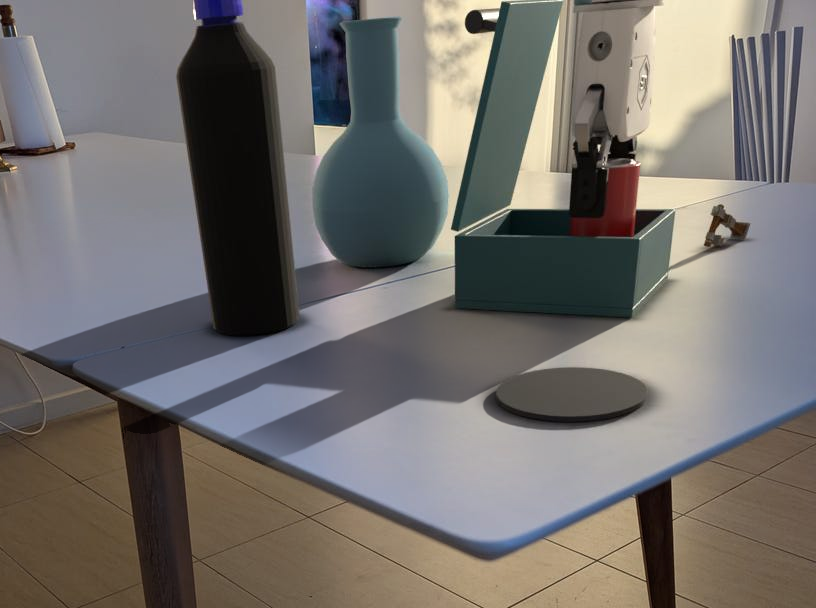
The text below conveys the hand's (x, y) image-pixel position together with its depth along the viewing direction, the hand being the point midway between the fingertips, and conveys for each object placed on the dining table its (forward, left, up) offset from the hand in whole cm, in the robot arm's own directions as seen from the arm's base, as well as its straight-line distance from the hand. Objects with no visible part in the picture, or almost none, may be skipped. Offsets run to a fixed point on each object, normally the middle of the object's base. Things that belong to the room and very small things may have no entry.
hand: (601, 207), depth 87 cm
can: (0, 0, -7) cm, 7 cm away
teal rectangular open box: (+3, +1, -8) cm, 9 cm away
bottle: (+22, +26, -8) cm, 35 cm away
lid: (+9, +3, +8) cm, 12 cm away
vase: (+33, -2, -8) cm, 34 cm away
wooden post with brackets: (+1, -27, -8) cm, 28 cm away
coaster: (-16, +25, -8) cm, 31 cm away
